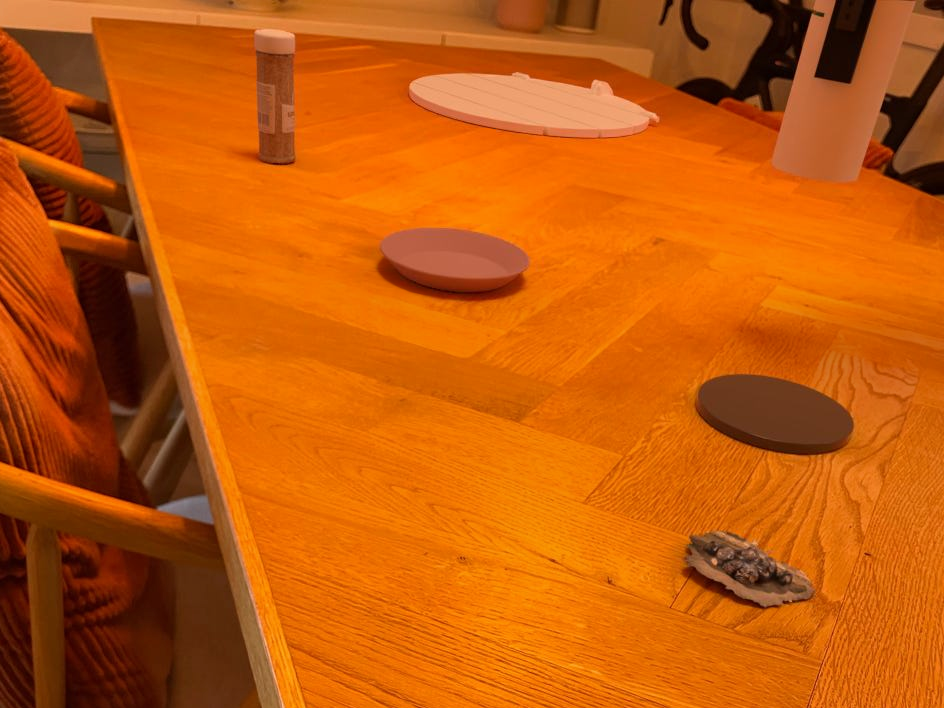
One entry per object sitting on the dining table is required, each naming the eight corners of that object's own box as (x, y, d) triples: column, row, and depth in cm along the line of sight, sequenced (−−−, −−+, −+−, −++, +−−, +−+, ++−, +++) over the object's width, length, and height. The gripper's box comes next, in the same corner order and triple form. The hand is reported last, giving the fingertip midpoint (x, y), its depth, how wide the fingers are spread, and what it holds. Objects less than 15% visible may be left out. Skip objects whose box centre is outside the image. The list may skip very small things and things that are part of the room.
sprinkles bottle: (300, 164, 119) (300, 36, 111) (264, 165, 117) (261, 34, 109) (288, 154, 122) (287, 28, 114) (252, 155, 120) (249, 27, 112)
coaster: (862, 411, 79) (866, 402, 79) (834, 470, 71) (838, 460, 70) (719, 370, 83) (721, 361, 82) (675, 421, 74) (678, 411, 74)
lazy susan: (531, 77, 183) (533, 56, 181) (699, 127, 162) (705, 104, 160) (359, 85, 160) (360, 61, 158) (530, 146, 139) (534, 119, 137)
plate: (548, 299, 92) (551, 278, 90) (398, 300, 88) (399, 277, 86) (500, 248, 102) (503, 228, 101) (365, 246, 98) (365, 226, 97)
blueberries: (688, 529, 62) (695, 503, 61) (816, 560, 61) (826, 534, 60) (674, 586, 57) (682, 559, 56) (814, 622, 56) (825, 594, 54)
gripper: (926, -306, 72) (823, 55, 86) (878, -365, 58) (763, 79, 72) (1035, -299, 70) (910, 71, 84) (1013, -359, 55) (867, 99, 69)
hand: (843, 74), depth 78 cm, fingers closed on cylindrical container, 7 cm apart
